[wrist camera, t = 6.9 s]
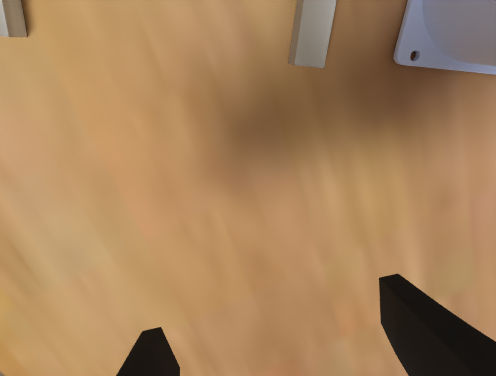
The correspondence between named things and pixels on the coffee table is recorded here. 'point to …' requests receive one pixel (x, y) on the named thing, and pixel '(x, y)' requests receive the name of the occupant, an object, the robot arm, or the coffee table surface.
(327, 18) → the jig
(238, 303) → the coffee table surface
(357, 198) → the coffee table surface
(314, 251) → the coffee table surface
